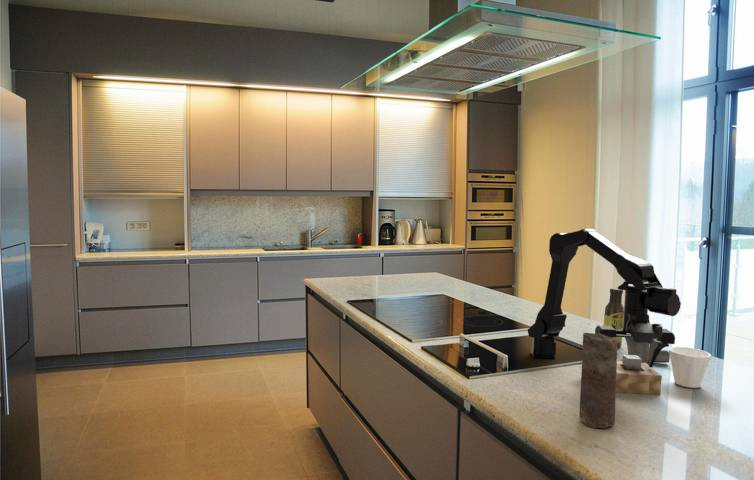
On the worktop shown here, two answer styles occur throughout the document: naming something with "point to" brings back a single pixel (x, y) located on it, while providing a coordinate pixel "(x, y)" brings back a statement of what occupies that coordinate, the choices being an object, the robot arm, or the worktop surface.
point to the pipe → (645, 351)
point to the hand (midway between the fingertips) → (632, 365)
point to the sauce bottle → (614, 312)
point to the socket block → (638, 380)
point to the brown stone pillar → (598, 380)
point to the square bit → (631, 363)
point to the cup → (689, 366)
